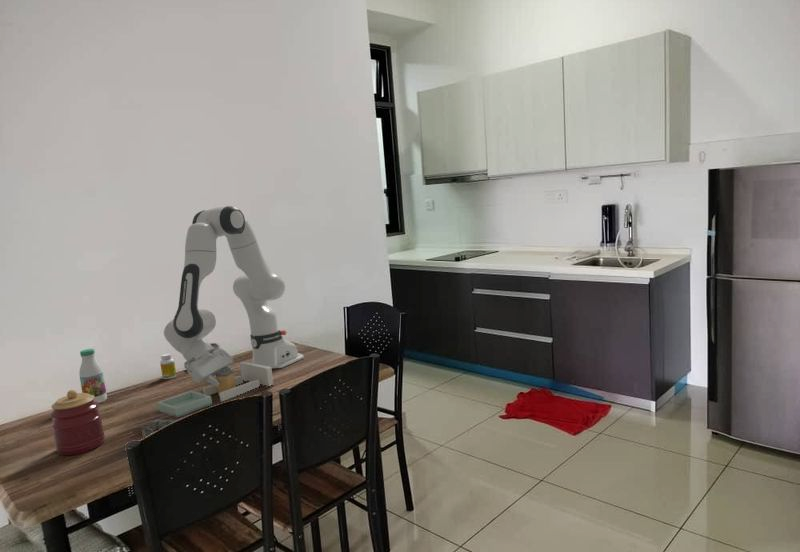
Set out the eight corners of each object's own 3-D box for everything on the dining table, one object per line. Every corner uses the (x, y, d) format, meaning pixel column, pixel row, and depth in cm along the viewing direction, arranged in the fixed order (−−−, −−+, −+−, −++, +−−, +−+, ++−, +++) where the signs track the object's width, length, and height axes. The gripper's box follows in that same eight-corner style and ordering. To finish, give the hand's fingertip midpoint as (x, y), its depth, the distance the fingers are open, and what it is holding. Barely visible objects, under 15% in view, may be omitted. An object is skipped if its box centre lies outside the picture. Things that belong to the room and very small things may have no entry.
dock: (246, 378, 223) (243, 361, 222) (273, 385, 212) (271, 367, 211) (199, 394, 209) (197, 376, 208) (226, 402, 197) (223, 383, 196)
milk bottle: (81, 403, 213) (72, 351, 210) (103, 396, 218) (94, 346, 215) (88, 406, 207) (79, 354, 205) (110, 400, 213) (101, 348, 210)
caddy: (225, 391, 210) (222, 370, 209) (236, 391, 209) (233, 370, 208) (218, 395, 206) (215, 374, 205) (229, 395, 204) (226, 374, 203)
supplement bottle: (171, 379, 233) (167, 356, 232) (159, 379, 234) (156, 356, 233) (179, 374, 238) (175, 352, 237) (167, 375, 239) (164, 353, 238)
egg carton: (138, 438, 173) (136, 426, 172) (156, 428, 180) (154, 416, 179) (167, 440, 169) (165, 427, 169) (183, 429, 176) (181, 417, 176)
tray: (193, 398, 205) (191, 390, 205) (212, 404, 196) (211, 396, 196) (158, 410, 195) (157, 402, 195) (176, 417, 187) (175, 409, 186)
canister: (53, 460, 162) (42, 401, 159) (60, 444, 174) (49, 389, 171) (103, 448, 167) (93, 391, 164) (107, 433, 179) (97, 380, 176)
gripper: (186, 357, 197) (214, 384, 196) (219, 341, 216) (245, 366, 215) (177, 369, 199) (204, 396, 197) (211, 353, 218) (237, 377, 217)
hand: (226, 380), depth 206 cm, fingers open, 8 cm apart
